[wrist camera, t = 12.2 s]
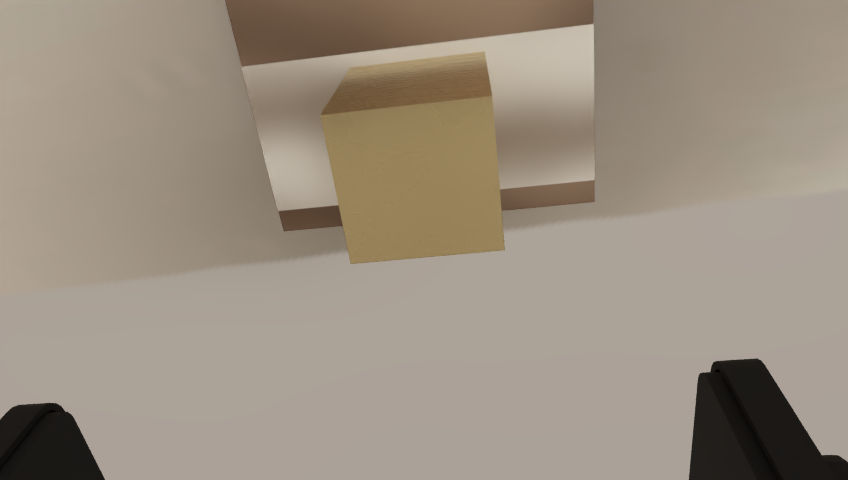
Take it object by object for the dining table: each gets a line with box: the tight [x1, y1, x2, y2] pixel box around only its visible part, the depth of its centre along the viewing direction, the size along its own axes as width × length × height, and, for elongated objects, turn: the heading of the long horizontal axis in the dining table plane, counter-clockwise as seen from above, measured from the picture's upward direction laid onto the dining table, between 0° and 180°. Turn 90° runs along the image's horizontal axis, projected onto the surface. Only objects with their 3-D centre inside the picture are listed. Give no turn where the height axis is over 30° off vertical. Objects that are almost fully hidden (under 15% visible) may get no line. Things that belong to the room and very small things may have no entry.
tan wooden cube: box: [320, 51, 505, 264], centre depth 22 cm, size 5×5×6 cm
